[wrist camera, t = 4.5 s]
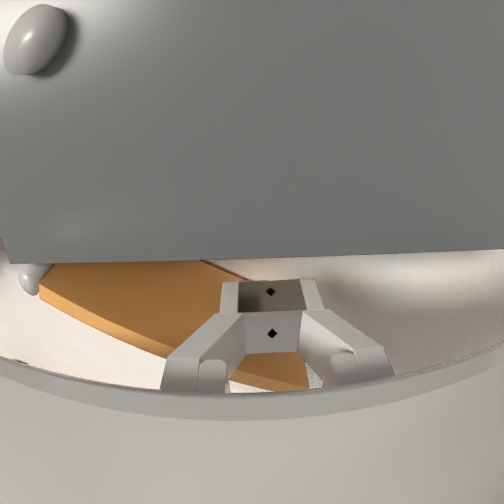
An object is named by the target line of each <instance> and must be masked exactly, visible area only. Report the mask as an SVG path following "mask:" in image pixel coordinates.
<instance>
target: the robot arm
mask: <svg viewBox="0 0 504 504" xmlns="http://www.w3.org/2000/svg"><path fill="white" fill-rule="evenodd" d="M270 352H297V353H298V354H299V355H300V356H301V357H302V359H303V360H304V361H305V362H306V363H307V364H308V365H309V366H310V367H311V368H312V369H313V371H314V372H315V373H316V374H317V375H318V376H319V377H320V378H321V379H322V380H323V381H324V382H323V385H322V388H315V389H305V390H294V391H280V392H259V393H231V391H230V385H229V378H230V377H231V375H232V374H233V373H234V371H235V370H236V368H237V367H238V365H239V364H240V363H241V361H242V360H243V358H244V357H245V356H246V354H255V353H270ZM0 504H504V342H502V343H500V344H497V345H495V346H492V347H490V348H487V349H485V350H482V351H479V352H476V353H474V354H471V355H468V356H465V357H462V358H459V359H456V360H452V361H449V362H446V363H443V364H439V365H436V366H432V367H428V368H425V369H421V370H417V371H413V372H409V373H404V374H400V375H396V376H395V374H394V372H393V369H392V367H391V364H390V362H389V360H388V357H387V355H386V353H385V350H384V348H383V346H382V345H380V344H379V343H377V342H376V341H374V340H373V339H372V338H370V337H369V336H367V335H366V334H364V333H363V332H362V331H360V330H359V329H357V328H356V327H354V326H353V325H352V324H350V323H349V322H347V321H346V320H344V319H343V318H342V317H340V316H339V315H337V314H336V313H334V312H333V311H332V310H330V309H325V307H324V304H323V302H322V299H321V296H320V293H319V290H318V287H317V284H316V281H315V279H314V278H304V279H295V280H274V281H269V280H260V281H224V282H223V284H222V293H221V303H220V312H219V313H218V314H214V315H213V316H212V317H211V318H210V319H208V320H207V321H206V322H205V323H204V324H203V325H202V326H201V327H200V328H199V329H198V330H196V331H195V332H194V333H193V334H192V335H191V336H190V337H189V338H188V339H187V340H186V341H184V342H183V343H182V344H181V345H180V346H179V347H178V348H177V349H176V350H174V351H173V352H172V353H171V354H170V355H169V356H168V357H167V361H166V365H165V369H164V373H163V377H162V382H161V386H160V390H157V389H147V388H138V387H131V386H123V385H116V384H110V383H104V382H98V381H93V380H88V379H83V378H78V377H73V376H69V375H64V374H60V373H56V372H52V371H48V370H44V369H41V368H37V367H34V366H30V365H27V364H24V363H20V362H17V361H14V360H11V359H8V358H5V357H2V356H0Z"/></svg>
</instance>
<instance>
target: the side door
mask: <svg viewBox="0 0 504 504" xmlns="http://www.w3.org/2000/svg"><path fill="white" fill-rule="evenodd" d="M224 281H246V280H243V279H241V278H239V277H236V276H234V275H232V274H229V273H227V272H225V271H222V270H220V269H218V268H216V267H213V266H211V265H209V264H206V263H204V262H202V261H200V260H179V261H137V262H90V263H30V264H29V265H28V266H27V267H26V268H25V269H24V270H23V271H22V272H21V274H20V275H19V282H20V285H21V286H22V288H23V289H24V290H25V291H26V292H27V293H28V294H30V295H33V296H34V295H37V293H38V292H39V298H40V299H41V300H43V301H45V302H46V303H48V304H50V305H52V306H53V307H55V308H57V309H59V310H60V311H62V312H64V313H66V314H68V315H70V316H71V317H73V318H75V319H77V320H79V321H81V322H83V323H85V324H87V325H89V326H91V327H93V328H95V329H97V330H99V331H101V332H103V333H106V334H108V335H110V336H112V337H114V338H116V339H119V340H121V341H123V342H125V343H128V344H130V345H132V346H135V347H137V348H140V349H142V350H144V351H147V352H149V353H152V354H154V355H157V356H160V357H162V358H165V359H167V357H168V356H169V355H170V354H171V353H172V352H173V351H174V350H176V349H177V348H178V347H179V346H180V345H181V344H182V343H183V342H184V341H186V340H187V339H188V338H189V337H190V336H191V335H192V334H193V333H194V332H195V331H196V330H198V329H199V328H200V327H201V326H202V325H203V324H204V323H205V322H206V321H207V320H208V319H210V318H211V317H212V316H213V315H214V314H218V313H219V312H220V303H221V293H222V284H223V282H224ZM229 380H231V381H235V382H239V383H242V384H246V385H250V386H253V387H257V388H261V389H266V390H270V391H274V392H280V391H294V390H305V389H309V383H308V377H307V372H306V366H305V361H304V360H303V359H302V357H301V356H300V355H299V354H298V353H297V352H270V353H255V354H246V356H245V357H244V358H243V360H242V361H241V363H240V364H239V365H238V367H237V368H236V370H235V371H234V373H233V374H232V375H231V377H230V378H229Z"/></svg>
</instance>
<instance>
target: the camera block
mask: <svg viewBox="0 0 504 504" xmlns="http://www.w3.org/2000/svg"><path fill="white" fill-rule="evenodd" d="M0 238H1V241H2V243H3V246H4V249H5V251H6V254H7V256H8V259H9V261H10V264H30V263H90V262H137V261H179V260H217V259H252V258H284V257H315V256H344V255H371V254H397V253H422V252H446V251H469V250H491V249H504V0H0Z"/></svg>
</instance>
